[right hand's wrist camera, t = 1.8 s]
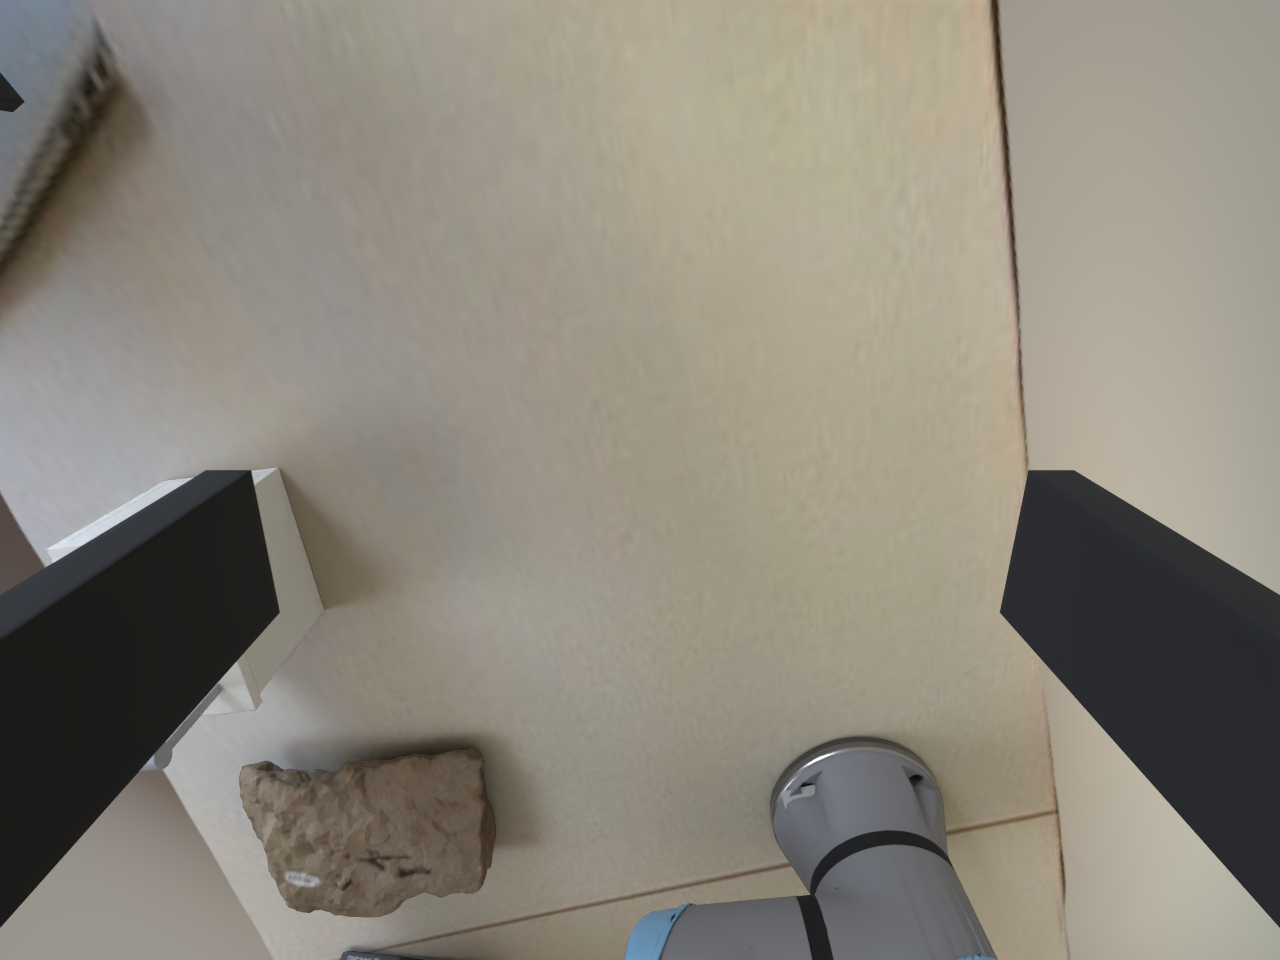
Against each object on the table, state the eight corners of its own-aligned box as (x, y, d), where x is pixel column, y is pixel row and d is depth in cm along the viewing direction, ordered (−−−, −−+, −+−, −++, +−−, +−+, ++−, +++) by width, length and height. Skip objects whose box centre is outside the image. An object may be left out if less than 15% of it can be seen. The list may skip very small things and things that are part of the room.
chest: (324, 610, 60) (260, 693, 49) (218, 622, 60) (132, 706, 50) (278, 467, 55) (197, 526, 45) (164, 480, 55) (58, 542, 45)
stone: (270, 903, 67) (245, 953, 61) (247, 752, 65) (219, 788, 59) (501, 865, 70) (499, 909, 64) (486, 720, 68) (482, 751, 62)
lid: (262, 701, 50) (195, 791, 42) (135, 714, 50) (45, 805, 42) (197, 526, 45) (107, 591, 37) (57, 542, 45) (-60, 610, 38)
